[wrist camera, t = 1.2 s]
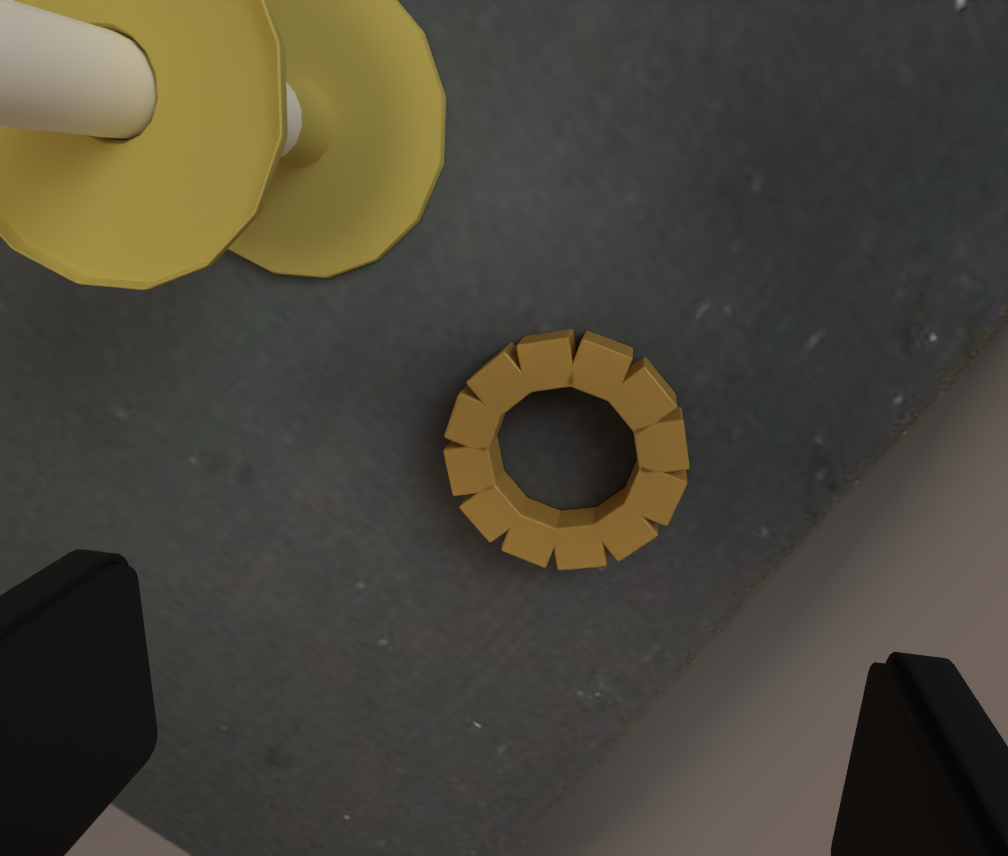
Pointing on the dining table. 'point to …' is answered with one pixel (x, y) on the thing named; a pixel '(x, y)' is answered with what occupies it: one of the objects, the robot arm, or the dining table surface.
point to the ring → (537, 525)
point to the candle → (213, 134)
